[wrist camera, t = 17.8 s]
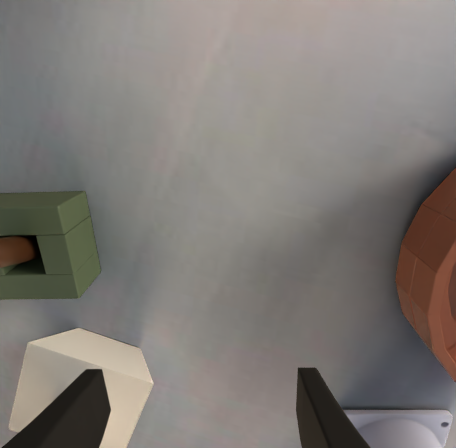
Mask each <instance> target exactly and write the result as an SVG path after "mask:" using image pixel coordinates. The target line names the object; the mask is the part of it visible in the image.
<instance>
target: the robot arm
mask: <svg viewBox="0 0 456 448" xmlns="http://www.w3.org/2000/svg"><path fill="white" fill-rule="evenodd" d="M296 412H297V420H298V427H299V433H300V440H301V445H302V448H445V444H446V441H447V437H448V434H449V430H450V427H451V423H452V420H453V417H452V415H451V414H450V412H449V411H447V410H342V408H341V407H340V405H339V404H338V402H337V401H336V399H335V398H334V396H333V395H332V393H331V391H330V390H329V388H328V387H327V385H326V383H325V382H324V380H323V378H322V377H321V375H320V373H319V371H318V370H317V369H316V368H298V379H297V402H296ZM110 413H111V407H110V403H109V398H108V393H107V389H106V384H105V380H104V375H103V371H102V369H86V370H85V371H84V372H82V373H81V374H80V375H79V376H78V377H77V378H76V379H75V380H74V381H73V382H72V383H71V384H70V385H69V386H68V387H67V388H66V389H65V390H64V391H63V392H62V393H61V394H60V395H59V396H58V397H57V398H56V399H55V400H54V401H53V402H52V403H51V404H49V405H48V406H47V407H46V408H45V409H44V410H43V411H42V412H41V413H40V414H39V415H38V416H37V417H36V418H35V419H34V420H33V421H31V422H30V423H29V424H28V425H27V426H26V427H25V428H24V429H22V430H21V431H20V432H19V433H18V434H17V435H16V436H15V437H13V438H12V439H11V440H10V441H9V442H8V443H7V444H6V445H4V446H3V447H2V448H99V447H100V444H101V442H102V439H103V436H104V433H105V429H106V426H107V423H108V419H109V416H110Z"/></svg>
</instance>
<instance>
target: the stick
mask: <svg viewBox="0 0 456 448" xmlns="http://www.w3.org/2000/svg"><path fill="white" fill-rule="evenodd" d="M36 236H37V235H19V236H11V237H3V238H0V268H2V267H6V266H10V265H14V264H18V263H22V262H26V261H30V260H35V259H39V258H42V257H41V253H40V249H39V245H38V242H37V238H36Z"/></svg>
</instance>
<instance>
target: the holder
mask: <svg viewBox="0 0 456 448" xmlns="http://www.w3.org/2000/svg"><path fill="white" fill-rule="evenodd" d="M19 235H37V236H36V238H37V242H38V245H39V249H40V253H41V257H42V258H39V259H35V260H30V261H26V262H22V263H18V264H14V265H10V266H6V267H2V268H0V300H2V299H72V298H80V297H81V296H82V294H83V293H84V292H85V291H86V289H87V288H88V287H89V286H90V285H91V283H92V282H93V281H94V280H95V278H96V277H97V276H98V275H99V274H100V272H101V268H100V263H99V258H98V253H97V247H96V242H95V237H94V232H93V227H92V221H91V216H90V213H89V208H88V202H87V197H86V192H85V191H69V192H33V193H0V238H3V237H11V236H19Z"/></svg>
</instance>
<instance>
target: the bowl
mask: <svg viewBox="0 0 456 448" xmlns="http://www.w3.org/2000/svg"><path fill="white" fill-rule="evenodd" d="M395 282H396V286H397V291H398V296H399V300H400V305H401V310H402V313H403V315H404V316H405V317H406V319H407V320H408V322H409V323H410V325H411V326H412V327H413V329H414V330H415V332H416V333H417V334H418V336H419V337H420V339H421V340H422V341H423V342H424V344H425V345H426V346H427V348H428V349H429V350H430V351H431V353H432V354H433V355H434V356H435V358H436V359H437V360H438V362H439V363H440V364H441V365H442V367H443V368H444V369H445V371H446V372H447V373H448V374H449V376H450V377H451V378H452V380H454V382H456V168H455V169H454V170H453V171H452V172H451V173H450V174H449V175H448V176H447V177H446V178H445V179H444V181H443V182H442V183H441V184H440V185H439V186H438V187H437V188H436V189H435V190H434V191H433V192H432V193H431V194H430V195H429V197H428V198H427V199H426V200H425V201H424V202H423V203H422V204H421V206H420V208H419V210H418V212H417V213H416V215H415V217H414V219H413V221H412V223H411V225H410V227H409V229H408V231H407V233H406V235H405V236H404V238H403V240H402V244H401V248H400V255H399V261H398V267H397V273H396V281H395Z"/></svg>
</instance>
